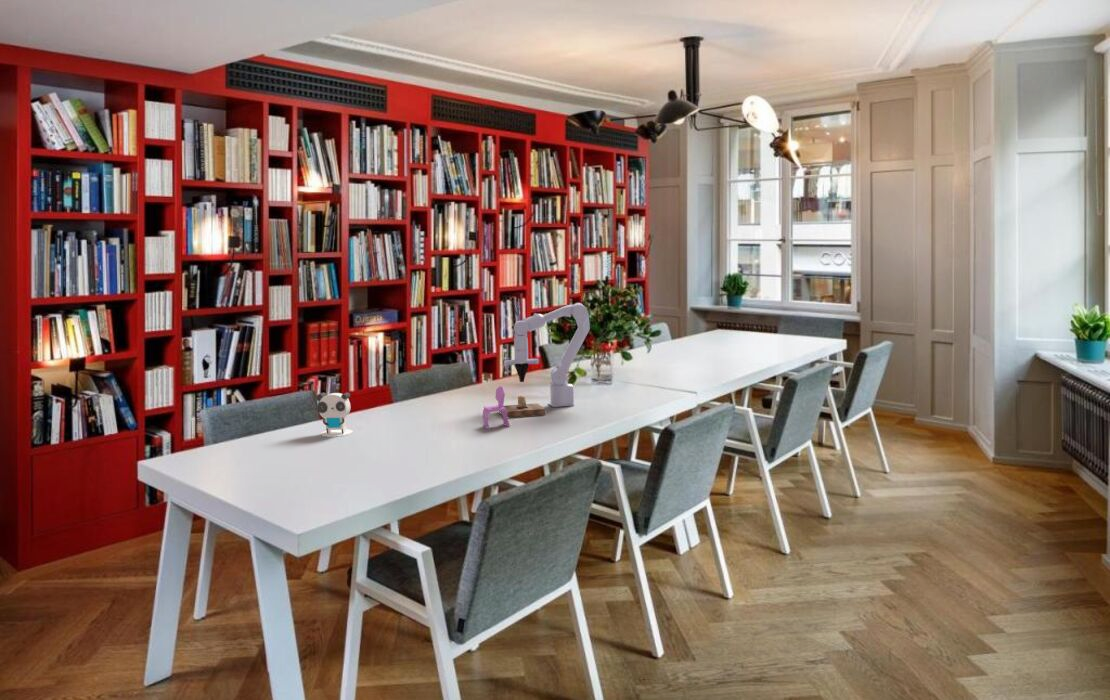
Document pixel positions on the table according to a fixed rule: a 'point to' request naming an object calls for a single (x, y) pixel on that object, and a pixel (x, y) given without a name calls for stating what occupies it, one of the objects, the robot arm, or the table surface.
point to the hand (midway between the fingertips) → (521, 381)
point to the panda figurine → (334, 413)
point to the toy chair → (496, 407)
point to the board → (524, 410)
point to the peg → (521, 402)
